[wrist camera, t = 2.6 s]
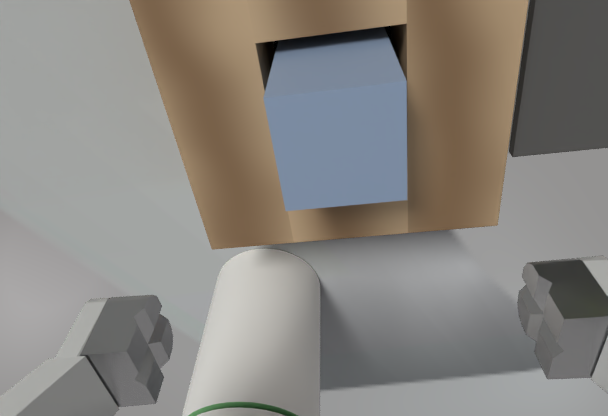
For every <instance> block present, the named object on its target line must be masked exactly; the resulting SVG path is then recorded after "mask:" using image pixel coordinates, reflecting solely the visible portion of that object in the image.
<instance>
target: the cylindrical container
mask: <svg viewBox="0 0 608 416" xmlns="http://www.w3.org/2000/svg"><path fill="white" fill-rule="evenodd" d="M182 416H320V282H319V279H318V276H317V274H316V272H315V271H314V270H313V269H312V267H311V266H310V265H309V264H308V263H306V262H305V261H304V260H303V259H301V258H299V257H297V256H295V255H294V254H291V253H288V252H285V251H281V250H276V249H253V250H249V251H245V252H242V253H240V254H238V255H236V256H234V257H232V258H231V259H230V260H228V261H227V262H226V263H225V264H224V266H223V267H222V268H221V270H220V272H219V275H218V278H217V282H216V286H215V290H214V294H213V298H212V301H211V305H210V309H209V313H208V317H207V321H206V325H205V328H204V332H203V336H202V340H201V344H200V348H199V352H198V356H197V359H196V363H195V367H194V371H193V375H192V379H191V382H190V387H189V390H188V394H187V398H186V402H185V406H184V410H183V413H182Z"/></svg>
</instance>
